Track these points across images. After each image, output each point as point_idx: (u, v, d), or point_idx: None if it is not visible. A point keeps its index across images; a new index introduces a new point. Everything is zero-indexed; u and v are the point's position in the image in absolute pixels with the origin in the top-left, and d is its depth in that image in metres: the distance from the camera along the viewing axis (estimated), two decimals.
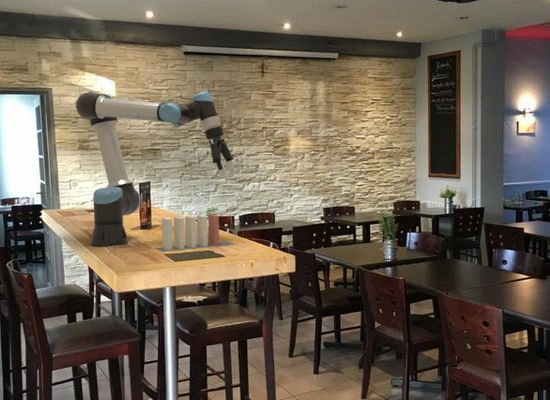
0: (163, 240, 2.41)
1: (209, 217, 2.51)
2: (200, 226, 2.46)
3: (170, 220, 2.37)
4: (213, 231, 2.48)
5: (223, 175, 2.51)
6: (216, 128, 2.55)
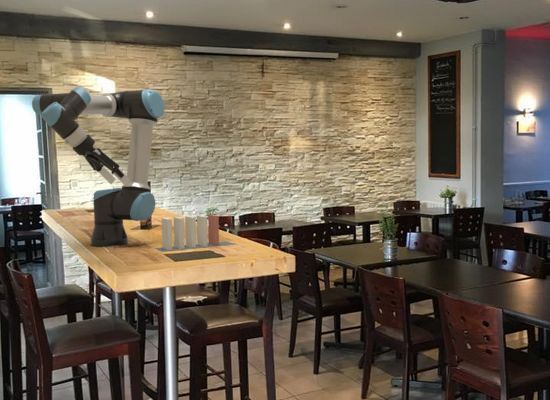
0: (163, 240, 2.41)
1: (209, 217, 2.51)
2: (200, 226, 2.46)
3: (170, 220, 2.37)
4: (213, 231, 2.48)
5: None
6: None
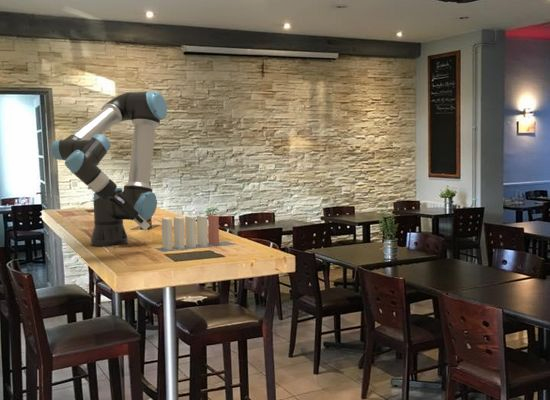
0: (163, 240, 2.41)
1: (209, 217, 2.51)
2: (200, 226, 2.46)
3: (170, 220, 2.37)
4: (213, 231, 2.48)
5: None
6: None
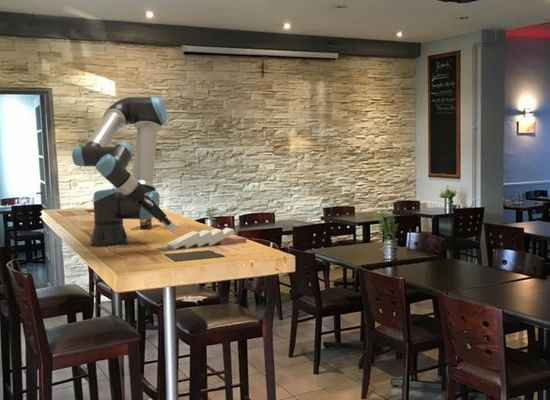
0: (175, 240, 2.43)
1: (239, 236, 2.58)
2: None
3: (198, 235, 2.44)
4: (230, 239, 2.53)
5: None
6: None
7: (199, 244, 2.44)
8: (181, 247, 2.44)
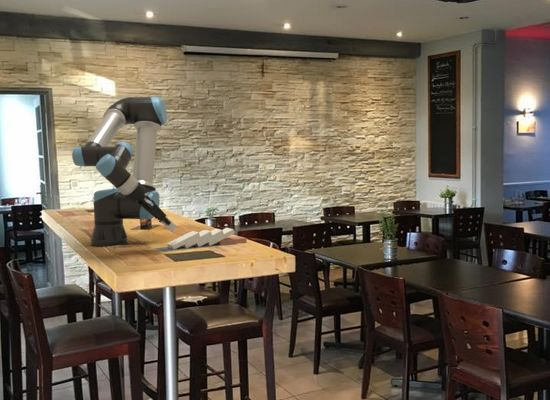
0: (175, 240, 2.43)
1: (239, 236, 2.58)
2: None
3: (198, 235, 2.44)
4: (230, 239, 2.53)
5: None
6: None
7: (199, 244, 2.44)
8: (181, 247, 2.44)
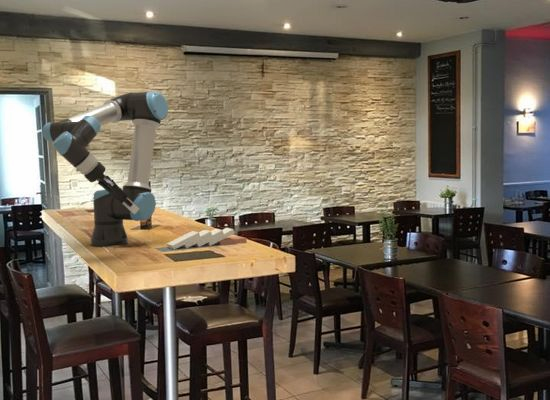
0: (175, 240, 2.43)
1: (239, 236, 2.58)
2: None
3: (198, 235, 2.44)
4: (230, 239, 2.53)
5: None
6: None
7: (199, 244, 2.44)
8: (181, 247, 2.44)
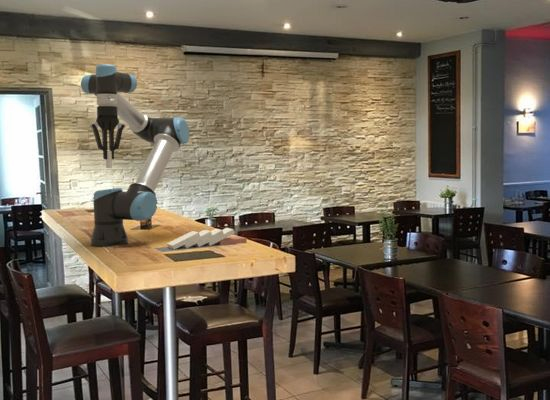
0: (175, 240, 2.43)
1: (239, 236, 2.58)
2: None
3: (198, 235, 2.44)
4: (230, 239, 2.53)
5: (107, 166, 2.36)
6: (101, 107, 2.31)
7: (199, 244, 2.44)
8: (181, 247, 2.44)
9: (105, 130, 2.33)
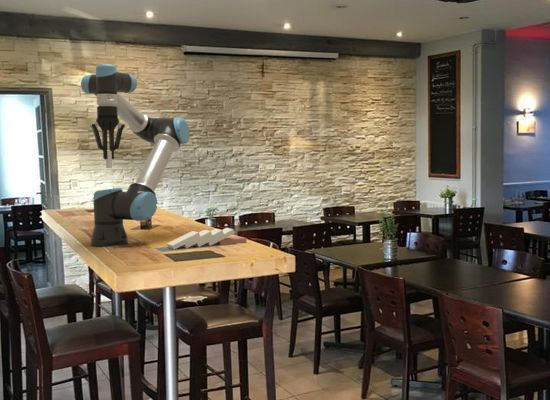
0: (175, 240, 2.43)
1: (239, 236, 2.58)
2: None
3: (198, 235, 2.44)
4: (230, 239, 2.53)
5: (107, 166, 2.36)
6: (101, 107, 2.31)
7: (199, 244, 2.44)
8: (181, 247, 2.44)
9: (105, 130, 2.33)
